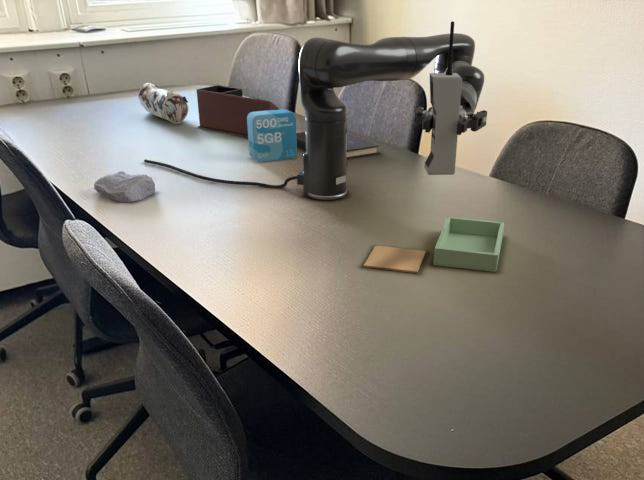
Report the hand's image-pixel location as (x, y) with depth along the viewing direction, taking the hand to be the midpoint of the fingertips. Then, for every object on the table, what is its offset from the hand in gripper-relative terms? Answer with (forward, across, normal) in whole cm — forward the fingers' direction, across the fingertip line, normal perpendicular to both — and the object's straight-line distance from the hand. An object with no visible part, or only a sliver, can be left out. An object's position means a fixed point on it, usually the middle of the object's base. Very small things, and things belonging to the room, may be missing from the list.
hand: (443, 127), depth 122 cm
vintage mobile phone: (-3, 0, -9) cm, 9 cm away
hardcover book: (-69, +39, -24) cm, 83 cm away
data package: (-54, +51, -24) cm, 78 cm away
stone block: (-15, +74, -24) cm, 79 cm away
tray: (-4, -6, -24) cm, 25 cm away
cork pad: (+4, +7, -24) cm, 25 cm away
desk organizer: (-79, +69, -24) cm, 108 cm away
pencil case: (-89, +100, -24) cm, 136 cm away
